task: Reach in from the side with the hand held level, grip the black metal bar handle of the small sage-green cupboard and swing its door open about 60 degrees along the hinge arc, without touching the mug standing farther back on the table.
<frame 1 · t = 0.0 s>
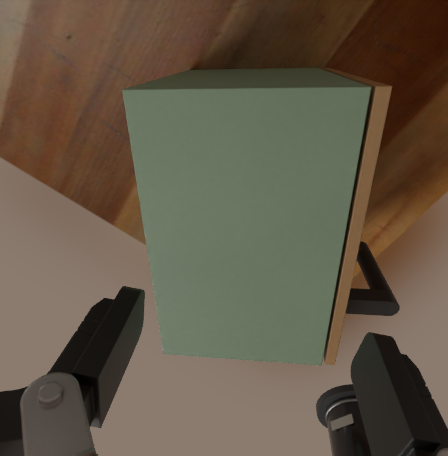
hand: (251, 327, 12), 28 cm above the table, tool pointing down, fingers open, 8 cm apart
cupboard: (250, 166, 38), on the table
cupboard door: (360, 201, 29), point 9 cm above the table, hinge at 0.0°
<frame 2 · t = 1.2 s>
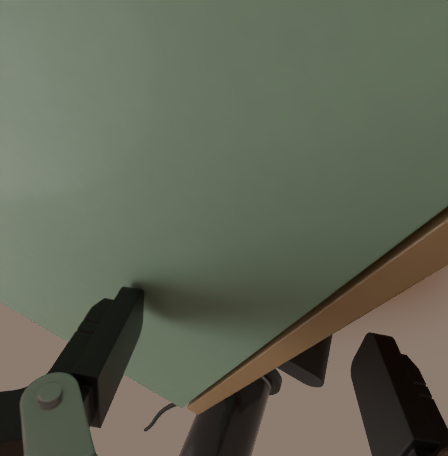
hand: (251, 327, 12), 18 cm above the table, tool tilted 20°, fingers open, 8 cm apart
cupboard: (255, 81, 24), on the table
cupboard door: (364, 232, 18), point 9 cm above the table, hinge at 0.0°
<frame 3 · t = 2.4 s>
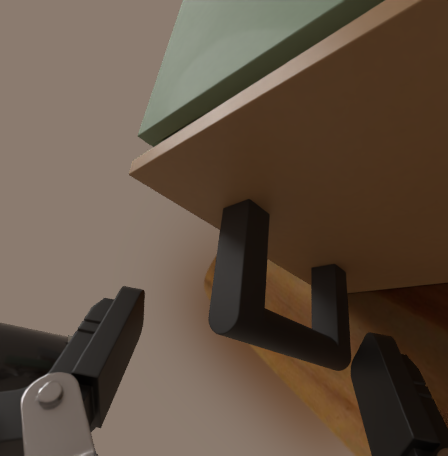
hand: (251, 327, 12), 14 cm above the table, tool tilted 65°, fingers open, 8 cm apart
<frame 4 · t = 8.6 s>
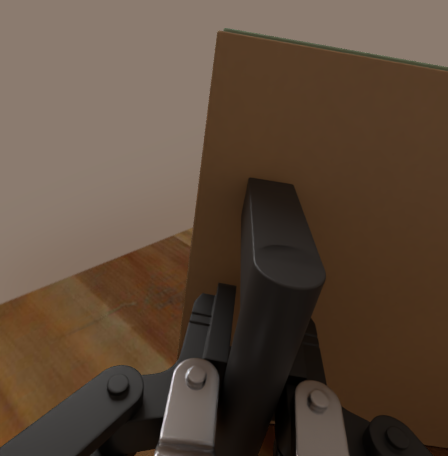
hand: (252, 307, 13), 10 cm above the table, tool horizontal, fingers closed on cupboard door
cupboard: (325, 330, 26), on the table
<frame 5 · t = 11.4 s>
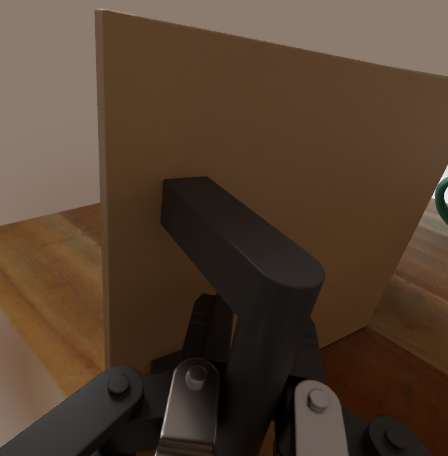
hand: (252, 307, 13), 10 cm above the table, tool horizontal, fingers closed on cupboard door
cupboard door: (349, 287, 15), point 9 cm above the table, hinge at 38.9°, touching gripper
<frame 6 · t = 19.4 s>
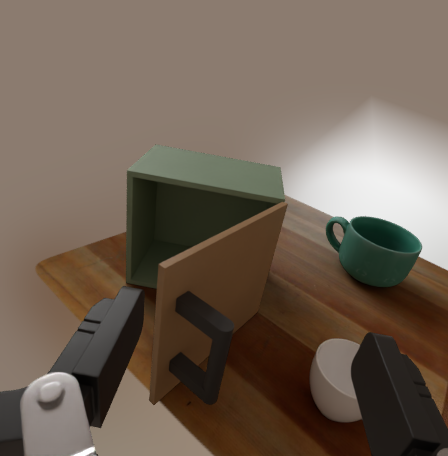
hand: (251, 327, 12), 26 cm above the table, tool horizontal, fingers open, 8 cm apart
cupboard: (197, 270, 57), on the table
mug: (356, 270, 65), on the table
cup: (341, 411, 38), on the table
cupboard door: (243, 308, 37), point 9 cm above the table, hinge at 57.5°
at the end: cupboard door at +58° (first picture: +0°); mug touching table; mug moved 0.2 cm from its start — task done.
